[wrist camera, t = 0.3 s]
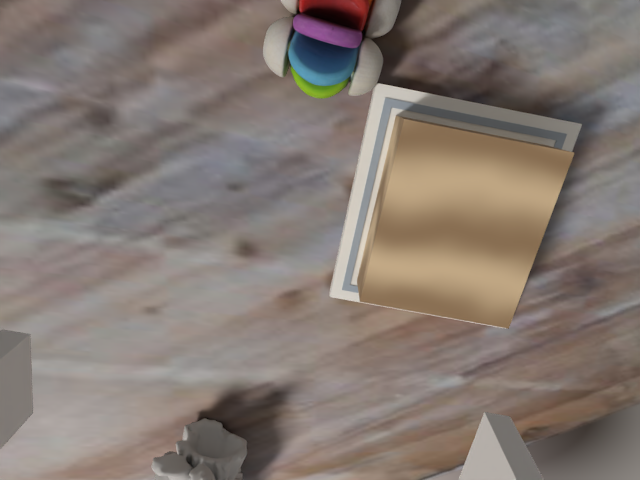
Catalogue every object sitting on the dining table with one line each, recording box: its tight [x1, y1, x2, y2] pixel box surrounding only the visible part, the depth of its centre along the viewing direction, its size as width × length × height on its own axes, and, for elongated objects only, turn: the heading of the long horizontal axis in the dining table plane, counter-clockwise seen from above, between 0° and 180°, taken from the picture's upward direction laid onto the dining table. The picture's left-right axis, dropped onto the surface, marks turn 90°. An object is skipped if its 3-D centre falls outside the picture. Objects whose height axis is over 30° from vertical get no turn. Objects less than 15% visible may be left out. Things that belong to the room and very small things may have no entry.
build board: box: [330, 83, 582, 328], centre depth 37 cm, size 18×16×1 cm
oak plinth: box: [357, 115, 574, 329], centre depth 34 cm, size 14×12×4 cm
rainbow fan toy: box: [263, 0, 401, 98], centre depth 30 cm, size 8×10×7 cm
